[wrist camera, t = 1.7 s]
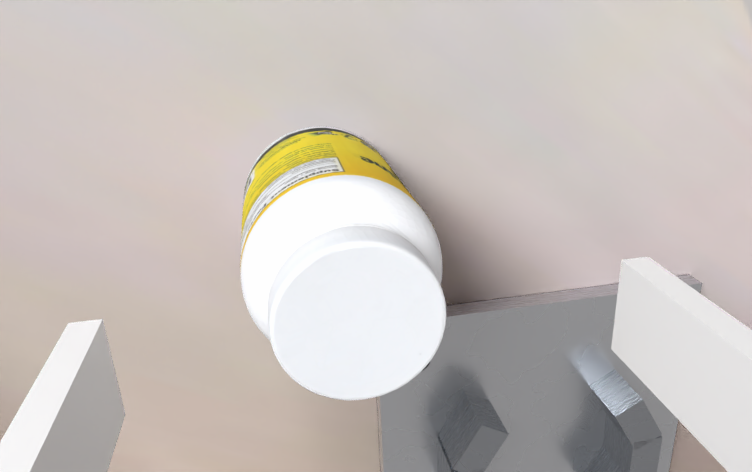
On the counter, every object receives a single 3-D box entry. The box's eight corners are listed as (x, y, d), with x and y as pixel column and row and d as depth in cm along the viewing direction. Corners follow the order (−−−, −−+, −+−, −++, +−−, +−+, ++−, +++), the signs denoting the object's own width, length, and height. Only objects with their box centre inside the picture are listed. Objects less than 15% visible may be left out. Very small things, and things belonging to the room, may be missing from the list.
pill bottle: (413, 225, 27) (506, 365, 17) (285, 285, 27) (305, 461, 17) (356, 95, 25) (427, 172, 15) (215, 162, 25) (191, 284, 15)
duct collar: (385, 566, 35) (398, 625, 32) (372, 315, 29) (387, 356, 26) (648, 516, 37) (686, 566, 34) (688, 274, 31) (738, 307, 28)
